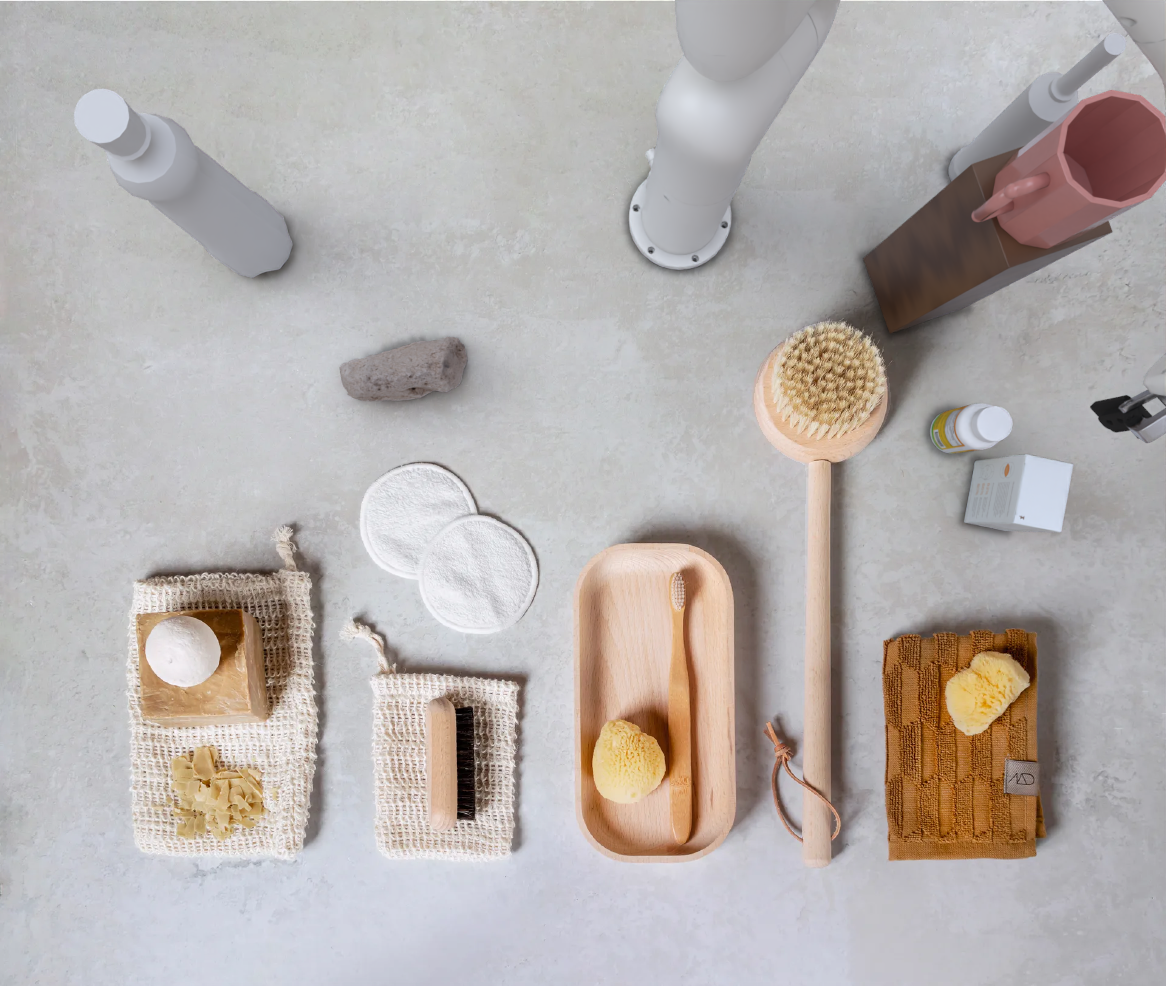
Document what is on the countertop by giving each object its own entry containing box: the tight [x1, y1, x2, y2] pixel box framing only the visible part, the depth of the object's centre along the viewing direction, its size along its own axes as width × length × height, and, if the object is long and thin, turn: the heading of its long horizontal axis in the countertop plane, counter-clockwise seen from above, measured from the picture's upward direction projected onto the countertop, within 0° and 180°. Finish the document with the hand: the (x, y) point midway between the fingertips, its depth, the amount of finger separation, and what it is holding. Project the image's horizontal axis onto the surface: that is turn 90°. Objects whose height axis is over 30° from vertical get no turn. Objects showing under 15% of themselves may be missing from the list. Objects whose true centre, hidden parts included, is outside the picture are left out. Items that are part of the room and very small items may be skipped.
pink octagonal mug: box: [971, 89, 1166, 249], centre depth 61 cm, size 9×12×9 cm
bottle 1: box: [73, 88, 294, 279], centre depth 75 cm, size 9×9×30 cm
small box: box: [963, 453, 1075, 534], centre depth 85 cm, size 8×6×10 cm
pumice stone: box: [339, 336, 468, 402], centre depth 85 cm, size 15×8×10 cm, turn 95°
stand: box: [862, 146, 1113, 334], centre depth 78 cm, size 10×10×25 cm
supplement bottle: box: [929, 402, 1013, 455], centre depth 85 cm, size 5×5×10 cm
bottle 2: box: [947, 32, 1127, 182], centre depth 78 cm, size 5×5×25 cm
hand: (1143, 379), depth 63 cm, fingers open, 9 cm apart
